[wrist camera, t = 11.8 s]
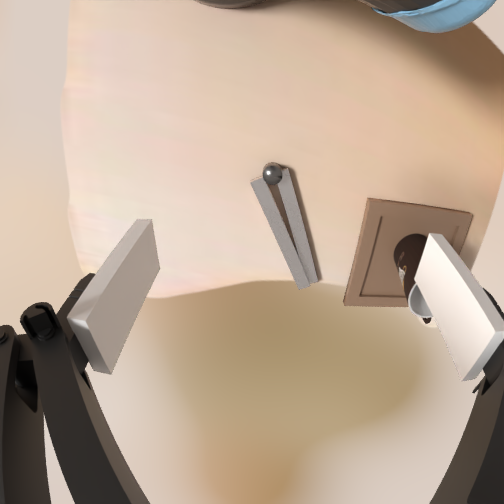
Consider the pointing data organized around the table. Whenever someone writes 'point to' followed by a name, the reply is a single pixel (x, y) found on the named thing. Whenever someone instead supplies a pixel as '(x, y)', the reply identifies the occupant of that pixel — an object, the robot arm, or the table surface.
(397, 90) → the table surface
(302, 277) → the tongs
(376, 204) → the tray
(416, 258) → the coffee mug
